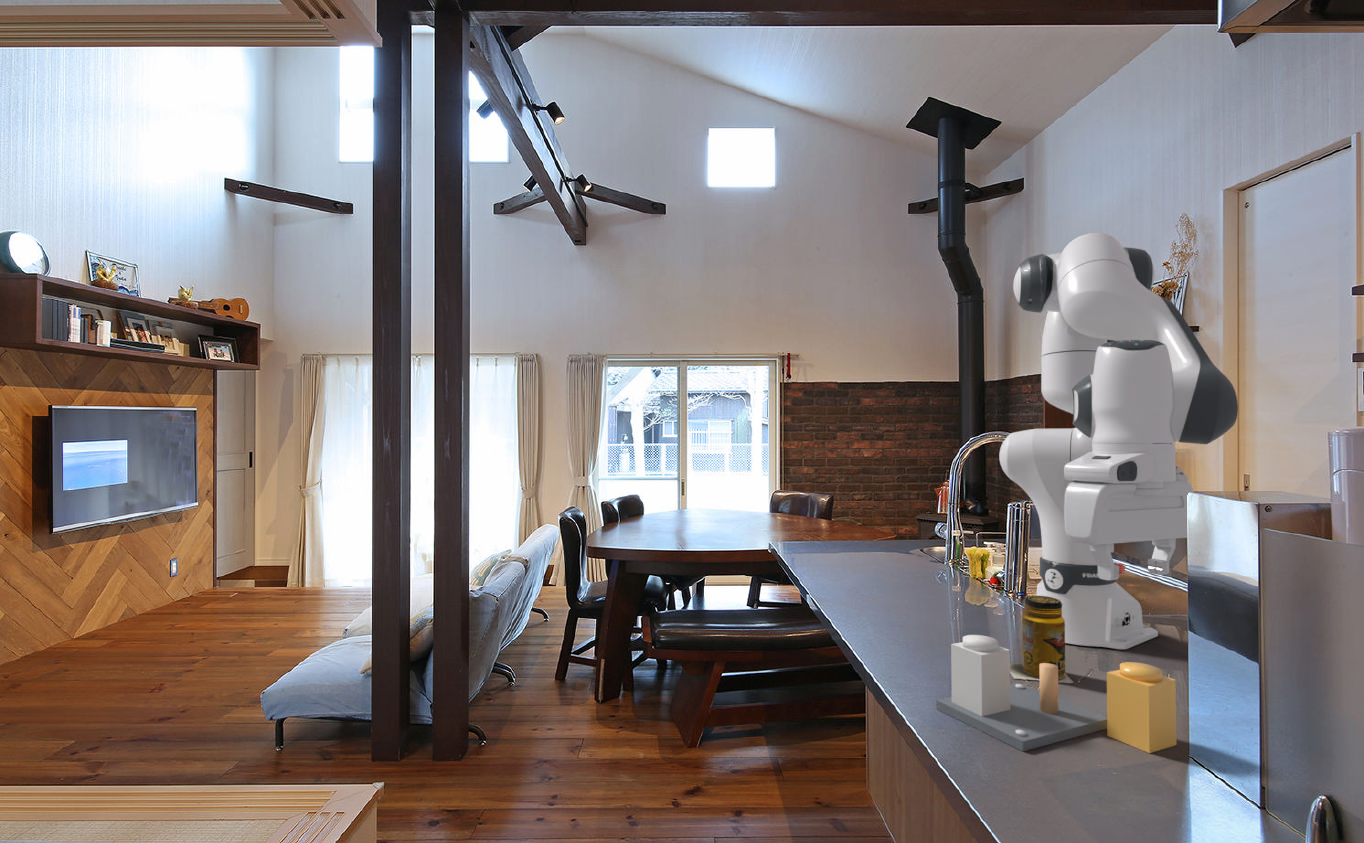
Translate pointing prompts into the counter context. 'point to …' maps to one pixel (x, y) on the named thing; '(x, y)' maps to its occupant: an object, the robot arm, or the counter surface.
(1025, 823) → the counter surface
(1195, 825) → the counter surface
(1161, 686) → the yellow knob block
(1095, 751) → the counter surface
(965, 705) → the plate
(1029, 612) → the condiment
